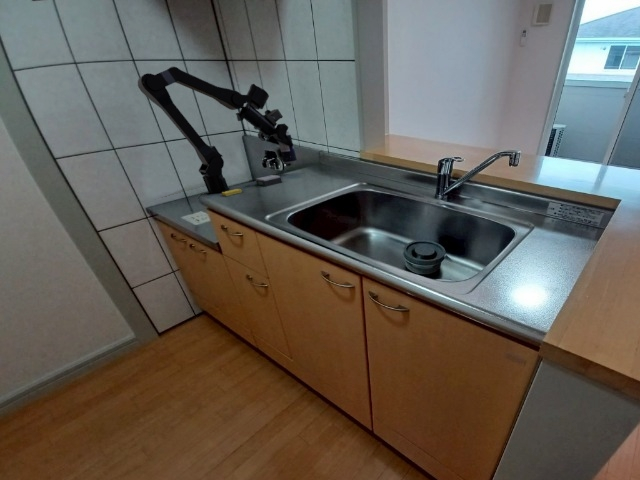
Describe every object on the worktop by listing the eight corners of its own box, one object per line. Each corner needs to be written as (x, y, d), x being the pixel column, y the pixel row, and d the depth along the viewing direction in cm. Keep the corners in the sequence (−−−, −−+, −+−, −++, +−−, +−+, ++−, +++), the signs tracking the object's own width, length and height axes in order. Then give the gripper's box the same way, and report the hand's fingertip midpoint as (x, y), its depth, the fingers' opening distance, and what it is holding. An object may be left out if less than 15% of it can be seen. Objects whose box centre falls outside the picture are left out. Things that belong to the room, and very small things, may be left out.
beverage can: (298, 162, 141) (291, 131, 135) (286, 164, 139) (278, 133, 132) (295, 161, 145) (287, 131, 139) (282, 163, 143) (274, 133, 137)
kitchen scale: (265, 186, 125) (263, 180, 124) (257, 185, 129) (255, 178, 128) (282, 182, 129) (280, 175, 128) (273, 180, 134) (271, 174, 132)
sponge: (226, 196, 116) (225, 193, 116) (222, 195, 118) (221, 192, 118) (242, 192, 120) (241, 189, 119) (238, 191, 122) (237, 188, 121)
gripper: (276, 99, 122) (308, 129, 134) (256, 103, 134) (287, 130, 146) (263, 125, 121) (297, 152, 133) (244, 127, 133) (276, 152, 145)
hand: (289, 146), depth 139 cm, fingers closed on beverage can, 5 cm apart
